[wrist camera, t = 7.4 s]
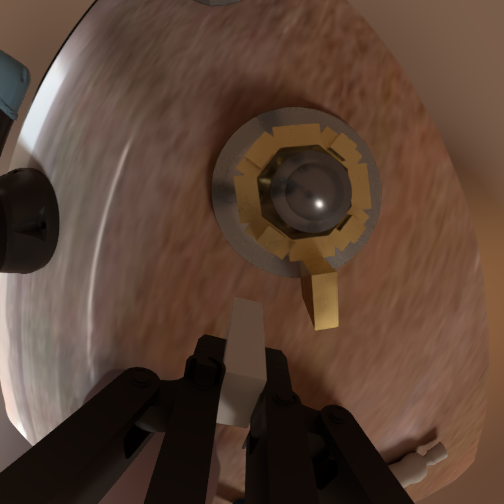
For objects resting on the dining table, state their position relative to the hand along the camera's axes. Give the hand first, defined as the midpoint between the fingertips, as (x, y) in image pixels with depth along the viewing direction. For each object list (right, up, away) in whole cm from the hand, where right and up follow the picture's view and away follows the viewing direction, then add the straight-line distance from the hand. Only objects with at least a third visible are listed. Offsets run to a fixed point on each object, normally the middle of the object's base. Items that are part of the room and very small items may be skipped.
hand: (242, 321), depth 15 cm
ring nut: (+6, +8, +13) cm, 16 cm away
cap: (+5, +10, +14) cm, 18 cm away
